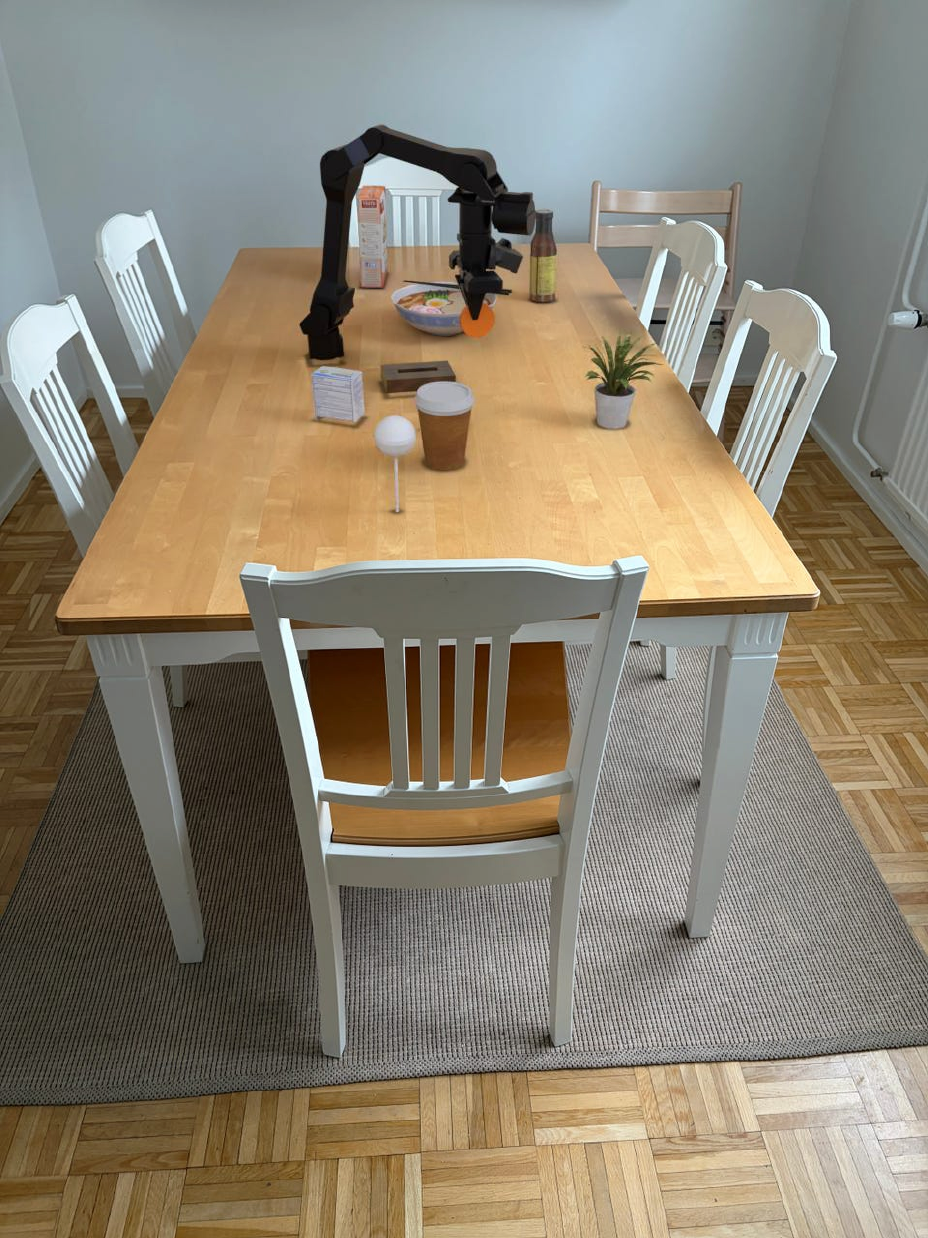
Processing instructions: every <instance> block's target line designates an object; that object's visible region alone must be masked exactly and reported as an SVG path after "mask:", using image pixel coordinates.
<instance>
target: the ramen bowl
mask: <svg viewBox="0 0 928 1238" xmlns="http://www.w3.org/2000/svg"><path fill="white" fill-rule="evenodd" d="M402 282H403V283H411V284H410V285H406V286H403V287H401V288H398V289H396V290H394V292H393V293H392V294H391V295H390V298H391V300H392V303H393V304H394V307H395V309H396V311H397V313H398V314H399V315H400V316H401V318H402V319H403V320H404V321H405V322H406V323H407V324H409V325H410V326H412V327H414V328H416V329H418V330H420V331H423V332H426V333H429V334H430V335H433V336H439V337H452V336H456V335H458V334H460V333H463V332H464V331H463V329H462V328H461V325H460V314H461V312H462V310H463V309H464V307H465V306H466V304H465V301H464V299H463V296H462V294H461V291H460V288H459V286H458V283H457V281H418V280H405V279H404V280H402ZM512 293H513V290H512V289H507V288H503V291H502V292H500V293H486V295H485V297H484V301H483V302H484V303H486V304H487V305H489V306H490V308H491V309H492V310H493V308H494V306H495V304H496V301H497V300H498V296H497V295H500V296H510V294H512Z"/></svg>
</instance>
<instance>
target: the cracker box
mask: <svg viewBox="0 0 928 1238" xmlns="http://www.w3.org/2000/svg"><path fill="white" fill-rule="evenodd" d="M356 203H357V204H356V205H357V206H356V207H357V209H356V210H357V229H358V232H357V233H358V254H359V255H358V257H359V281H360V288H363V289H366V288H367V289H383V288H384V285H385V281H386V278H387V275H388V247H387V246H388V244H387V209H386V208H387V205H386V203H387V199H386V186H385V185H362V187H361V189H360V191H359V193H358V195H357V197H356Z"/></svg>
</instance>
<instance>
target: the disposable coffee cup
mask: <svg viewBox="0 0 928 1238" xmlns="http://www.w3.org/2000/svg"><path fill="white" fill-rule="evenodd" d="M413 401H414V405H415V406H416V409H417V415H418V421H419V422H418V423H419V428H420V436H421V442H422V448H423V455H424V463H425V465H426V466H427V467H429V468H431V469H435V470H439V471H450V470H456V469H458V468H460V467H461V466H463V465H464V463H465V462H464V461H465V455H466V450H467V449H466V447H467V441H468V434H469V426H470V421H471V415H472V408H473V407H474V404H475V401H476V398H475V396H474V395H473V391H472V389H471V388H470V387H469V386H468V385H465V384H463V383H459V382H457V381H456V382H446V381H444V382H432V383H428V384H425V385H423V386H421V387H420V388H419V389H418V390H417V391H416V395H415V396H414V398H413Z"/></svg>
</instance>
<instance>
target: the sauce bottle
mask: <svg viewBox="0 0 928 1238" xmlns="http://www.w3.org/2000/svg"><path fill="white" fill-rule="evenodd" d="M535 211H536V220H535V228H534V230H535V233H534V235H533V237H532V238H531V241H530V248H529V249H530V254H529V290H528V291H529V298H530V301H533V302H536V303H541V304H543V303H544V304H545V303H550V302H553V301H554V300H555V298H556V293H557V262H558V261H557V259H558V256H557V255H558V248H557V245H556V242H555V237H554V233H553V218H554V211H553V210H552V209H548V208H543V209H541V208H540V209H535Z"/></svg>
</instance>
